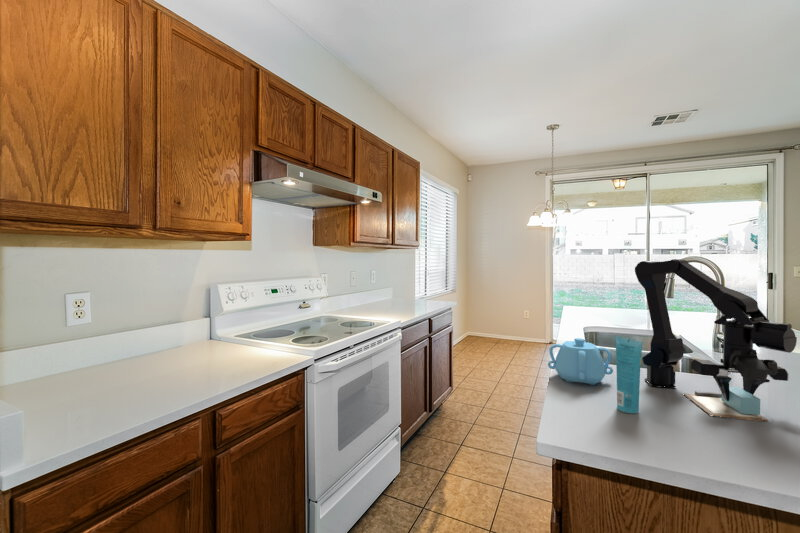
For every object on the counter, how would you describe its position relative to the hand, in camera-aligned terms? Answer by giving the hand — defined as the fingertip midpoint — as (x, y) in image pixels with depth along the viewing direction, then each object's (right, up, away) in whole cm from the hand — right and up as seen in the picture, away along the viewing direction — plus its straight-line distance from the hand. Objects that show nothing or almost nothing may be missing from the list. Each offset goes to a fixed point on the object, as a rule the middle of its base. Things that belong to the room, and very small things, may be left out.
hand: (736, 401), depth 97 cm
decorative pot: (-30, -2, +24) cm, 39 cm away
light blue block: (0, -1, 0) cm, 1 cm away
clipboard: (-3, -2, +1) cm, 4 cm away
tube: (-29, -3, 0) cm, 29 cm away
